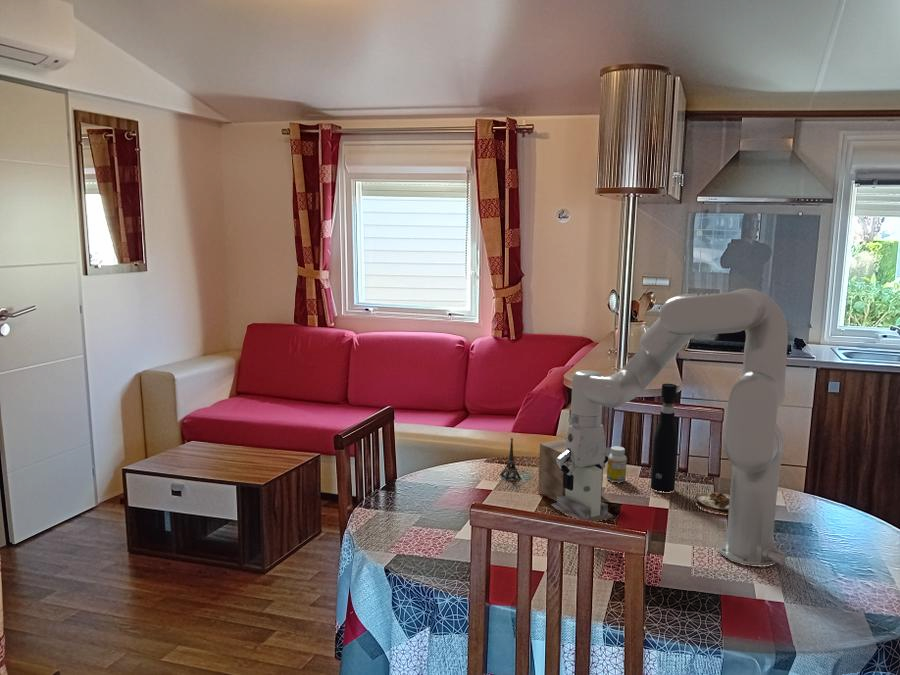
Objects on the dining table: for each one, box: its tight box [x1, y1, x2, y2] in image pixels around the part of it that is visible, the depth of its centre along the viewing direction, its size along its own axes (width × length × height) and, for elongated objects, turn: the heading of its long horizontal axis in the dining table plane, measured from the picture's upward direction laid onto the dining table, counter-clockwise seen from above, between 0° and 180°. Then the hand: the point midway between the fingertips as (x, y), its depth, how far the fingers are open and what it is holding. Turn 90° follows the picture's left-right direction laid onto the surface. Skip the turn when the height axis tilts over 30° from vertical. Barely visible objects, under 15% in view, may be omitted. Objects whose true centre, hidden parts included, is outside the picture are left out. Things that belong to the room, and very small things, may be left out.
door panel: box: [565, 465, 603, 517], centre depth 183 cm, size 10×4×12 cm, turn 31°
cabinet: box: [537, 438, 613, 521], centre depth 189 cm, size 23×18×14 cm
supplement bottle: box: [606, 445, 628, 483], centre depth 207 cm, size 5×5×10 cm
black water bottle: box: [650, 383, 679, 492], centre depth 199 cm, size 6×6×30 cm
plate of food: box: [694, 491, 730, 514], centre depth 189 cm, size 15×15×4 cm
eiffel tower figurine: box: [498, 437, 532, 489], centre depth 208 cm, size 15×10×13 cm
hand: (582, 485), depth 183 cm, fingers open, 9 cm apart
